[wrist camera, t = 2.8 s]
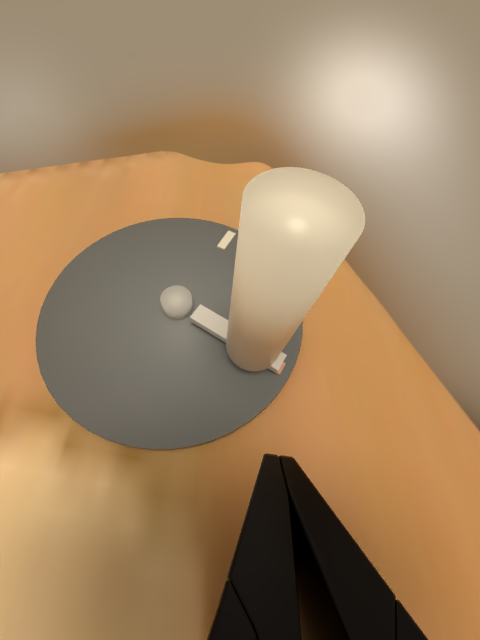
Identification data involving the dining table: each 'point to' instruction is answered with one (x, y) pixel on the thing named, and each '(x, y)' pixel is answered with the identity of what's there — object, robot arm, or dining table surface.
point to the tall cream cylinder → (282, 261)
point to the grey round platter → (151, 338)
